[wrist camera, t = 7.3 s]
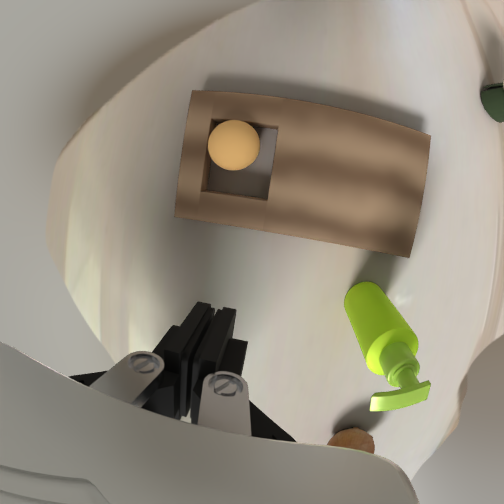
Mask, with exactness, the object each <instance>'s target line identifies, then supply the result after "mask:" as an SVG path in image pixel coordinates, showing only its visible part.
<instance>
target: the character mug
mask: <svg viewBox="0 0 504 504" xmlns="http://www.w3.org/2000/svg"><path fill="white" fill-rule="evenodd" d="M487 87H489V88H488V89H487V90H486V91H482V92H481V99H482V103H483V106H484V108H485V110H486V111H487V113H488V114H489V115H490V116H491V117H492V118H493V119H494V120H495V121H497V122H504V80H503V83H498V84H491V85H487V86H485V87H483V88H487Z"/></svg>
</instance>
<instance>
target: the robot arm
mask: <svg viewBox="0 0 504 504" xmlns="http://www.w3.org/2000/svg"><path fill="white" fill-rule="evenodd" d="M214 313H215V308H211V304H207V303H203V302H197V303H196V305H195V306H194V307H193V309H192V310H191V312H190V313H189V315H188V316H187V317H186V319H185V320H184V322H183V323H182V324H181V326H180V327H179V326H175V325H173V326H172V327H171V328H170V329H169V330H168V332H167V333H166V334H165V336H164V337H163V338H162V340H161V341H160V342H159V344H158V345H157V346H156V348H155V349H154V350H153V352H152V353H151V352H147V351H137V352H133V353H130V354H129V355H127V356H126V357H124V358H123V359H122V360H121V361H120V362H118V363H117V364H116V365H115V366H113V367H112V368H111V369H110V370H109V371H103V372H97V373H90V374H82V375H74V376H70V377H66V376H65V375H63V374H61V373H59V372H57V371H55V370H53V369H51V368H49V367H48V366H46V365H44V364H42V363H40V362H39V361H37V360H35V359H33V358H32V357H30V356H27V355H26V354H24V353H23V352H21V351H19V350H17V349H15V348H13V347H11V346H9V345H7V344H4V343H2V342H0V504H420V503H419V501H418V498H417V496H416V493H415V490H414V488H413V486H412V484H411V482H410V480H409V478H408V477H407V475H406V474H405V472H404V471H403V470H402V469H401V468H400V467H399V466H398V465H397V464H395V463H394V462H392V461H391V460H388V459H386V458H384V457H381V456H379V455H375V454H372V453H368V452H365V451H361V450H355V449H350V448H345V447H336V446H328V445H316V444H306V443H298V442H296V441H295V440H294V439H293V438H292V437H291V436H290V435H289V434H288V433H286V432H285V431H284V430H283V429H281V428H280V427H279V426H278V425H277V424H276V423H274V422H273V421H272V420H271V419H270V418H269V417H267V416H266V415H265V414H264V413H263V412H262V411H261V410H260V409H258V408H257V407H256V406H255V405H254V404H253V403H252V402H251V401H250V400H249V391H248V385H247V382H246V381H245V380H244V379H243V378H242V377H241V375H242V370H243V365H244V360H245V355H246V349H247V344H248V341H243V340H238V339H233V338H232V336H233V329H234V323H235V317H236V309H232V308H227V307H223V309H222V310H220V309H218V310H217V312H216V314H215V316H214Z"/></svg>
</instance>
